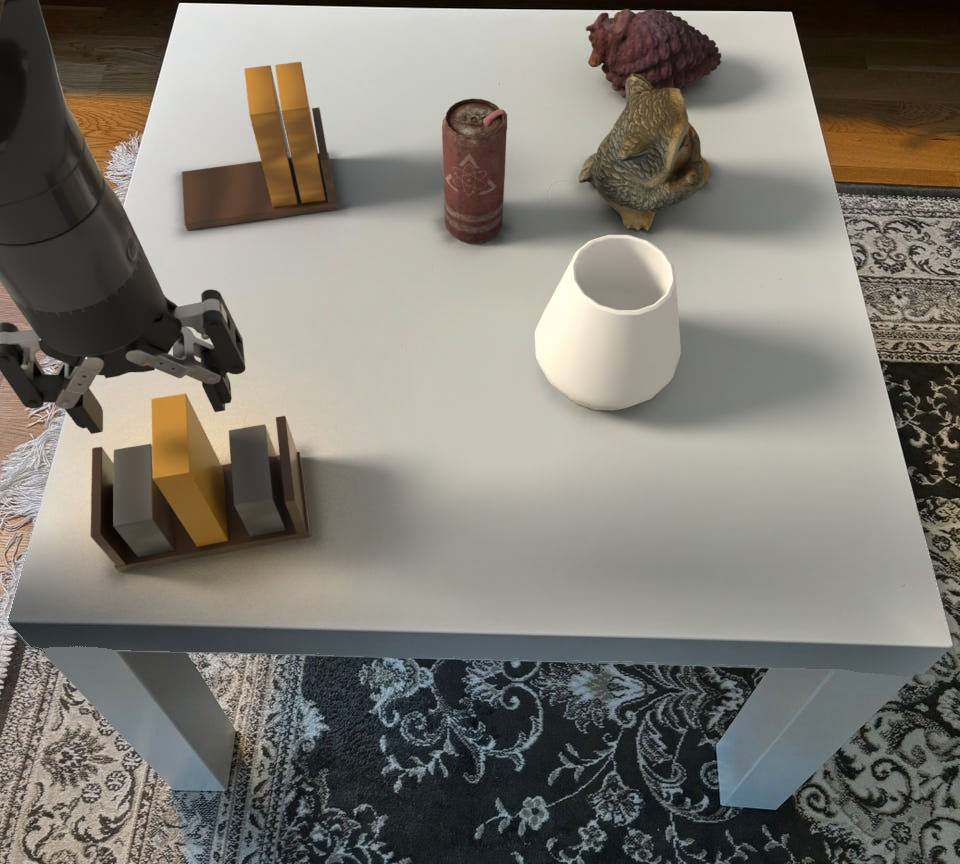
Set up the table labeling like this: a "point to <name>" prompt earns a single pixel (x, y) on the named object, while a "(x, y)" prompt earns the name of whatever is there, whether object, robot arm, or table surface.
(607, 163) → the figurine
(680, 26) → the pine cone
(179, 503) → the ochre book
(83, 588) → the table surface
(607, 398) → the cup
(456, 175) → the can
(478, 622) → the table surface
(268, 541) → the brown book rack
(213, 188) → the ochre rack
